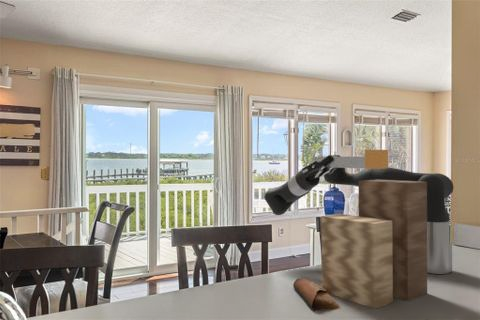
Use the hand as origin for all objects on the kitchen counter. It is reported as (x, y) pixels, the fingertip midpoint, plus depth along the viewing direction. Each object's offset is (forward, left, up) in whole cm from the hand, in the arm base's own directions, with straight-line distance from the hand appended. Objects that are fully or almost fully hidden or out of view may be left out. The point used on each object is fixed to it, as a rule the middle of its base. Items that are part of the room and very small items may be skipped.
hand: (335, 157), depth 135 cm
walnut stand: (-12, +15, -39) cm, 43 cm away
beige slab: (+1, +19, -39) cm, 43 cm away
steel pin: (-2, +4, -3) cm, 6 cm away
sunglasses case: (+13, +19, -40) cm, 46 cm away
